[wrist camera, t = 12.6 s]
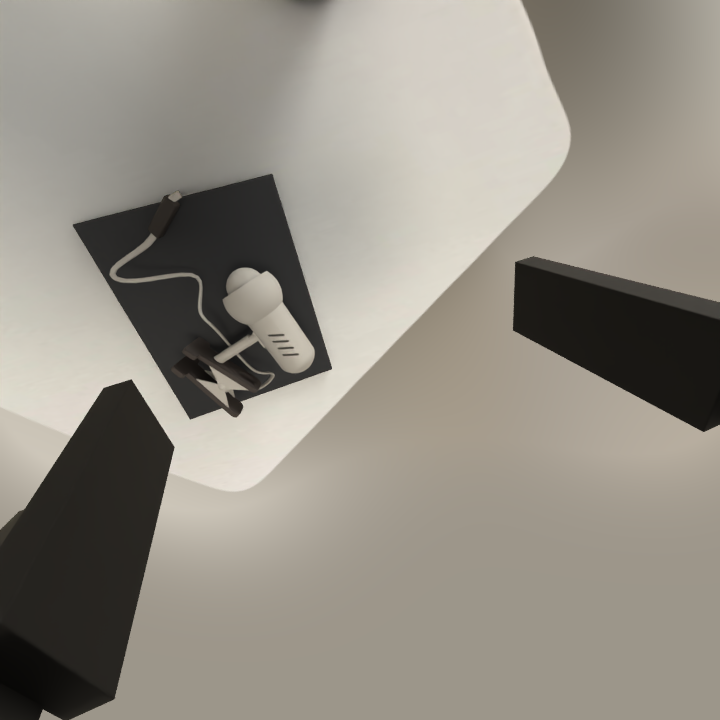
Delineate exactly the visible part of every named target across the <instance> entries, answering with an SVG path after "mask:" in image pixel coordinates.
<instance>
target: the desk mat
mask: <svg viewBox="0 0 720 720" xmlns="http://www.w3.org/2000/svg"><path fill="white" fill-rule="evenodd" d="M177 202H178V203H179V204H180V207H179V209H178V211H177V212H176V214H175V216H174V218H173V220H172V221H171V223H170V225H169V227H168V228H167V230H166V232H165V234H164V236H163V237H161V238H159V239H157V238H156V240H155V241H154V242H153V244H152V245H151V246H150V247H148V248H147V249H146V250H145V251H143V252H142V253H140V254H139V255H137V256H136V257H134V258H133V259H131V260H130V261H128V262H127V263H125V264H124V265H123V266H121V267H120V268H119V269H118V270H117V272H116V275H117V277H120V278H124V279H137V278H145V277H153V276H159V275H165V274H174V273H193V274H195V275H197V276H199V278H200V279H201V281H202V286H203V293H202V313H203V315H204V317H205V318H206V319H207V320H208V321H209V322H211V323H212V324H213V325H214V326H215V327H216V328H217V329H218V330H219V331H220V332H221V334H222V335H223V336H224V337H225V338H226V339H227V341H228V342H229V343H230V344H231V345H233V344H235V343H236V342H238V341H239V340H241V339H242V338H244V337H245V336H247V335H252V333H253V331H252V330H251V328H250V327H249V326H248V325H246V324H243V323H240V322H239V321H237V320H235V319H234V318H233V317H232V316H231V315H230V314H229V313H228V312H227V310H226V308H225V306H224V304H223V299H224V298H225V297H227V296H228V293H227V290H226V283H227V279H228V277H229V276H230V274H231V273H232V272H233V271H235V270H237V269H239V268H251V269H254V270H256V271H258V272H259V273H260V274H262V273H264V272H266V271H268V272H269V273H270V274H272V275H273V276H274V277H275V279H276V280H277V281H278V283H279V285H280V287H281V290H282V294H283V301H282V302H283V303H284V305H285V306H286V308H287V309H288V311H289V312H290V314H291V315H292V317H293V318H294V320H295V321H296V323H297V324H298V325H299V327H300V328H301V330H302V331H303V333H304V334H305V336H306V337H307V339H308V340H309V342H310V343H311V345H312V346H313V348H314V351H315V355H314V360H313V362H312V364H311V365H310V367H309V368H308V369H306V370H305V371H303V372H300V373H289V372H286V371H284V370H283V369H282V368H281V367H280V366H279V364H278V363H277V362H276V360H275V359H274V358H273V357H272V355H271V354H270V353H269V351H268V350H267V349H266V348H264V347H263V346H262V345H261V344H260V342H259V341H257V342H256V343H254V344H252V345H251V346H249V347H247V348H246V349H244V350H243V351H241V352H239V354H240V355H241V357H242V358H243V359H244V360H245V361H246V362H247V363H248V364H249V365H250V366H251V367H252V368H254V369H255V370H257V371H261V372H272V373H274V375H275V376H274V378H273V380H272V381H271V382H270V383H269V384H268V385H267V386H265V387H264V388H262V389H259V390H258V391H257V392H256V393H253V392H251V391H249V390H233V391H234V396H235V398H237V399H238V400H239V401H240V402H241V401H243V400H246V399H249V398H252V397H255V396H258V395H260V394H263V393H266V392H269V391H272V390H274V389H277V388H280V387H283V386H286V385H288V384H291V383H294V382H297V381H300V380H303V379H305V378H308V377H311V376H314V375H317V374H319V373H322V372H325V371H328V370H331V369H332V367H331V364H330V360H329V357H328V354H327V351H326V347H325V344H324V341H323V338H322V334H321V331H320V328H319V325H318V321H317V318H316V315H315V312H314V308H313V305H312V302H311V299H310V295H309V292H308V289H307V286H306V282H305V279H304V276H303V273H302V269H301V266H300V263H299V260H298V256H297V253H296V250H295V247H294V243H293V240H292V237H291V234H290V230H289V227H288V224H287V221H286V217H285V214H284V211H283V208H282V204H281V201H280V198H279V195H278V191H277V188H276V185H275V182H274V178H273V175H272V174H270V175H266V176H262V177H258V178H254V179H251V180H247V181H243V182H239V183H235V184H231V185H227V186H223V187H219V188H215V189H211V190H207V191H203V192H199V193H195V194H191V195H188V196H184V197H182V198H180V199H179V200H177ZM160 203H161V202H160ZM160 203H156V204H152V205H148V206H144V207H140V208H136V209H132V210H128V211H124V212H121V213H117V214H113V215H109V216H105V217H101V218H97V219H93V220H89V221H85V222H81V223H77V224H73V227H74V228H75V230H76V232H77V233H78V235H79V236H80V238H81V240H82V241H83V243H84V245H85V246H86V248H87V250H88V251H89V253H90V255H91V256H92V258H93V260H94V261H95V263H96V265H97V266H98V268H99V269H100V271H101V273H102V274H103V276H104V278H105V279H106V281H107V283H108V284H109V286H110V288H111V289H112V291H113V293H114V294H115V296H116V298H117V299H118V301H119V303H120V304H121V306H122V307H123V309H124V311H125V312H126V314H127V316H128V317H129V319H130V321H131V322H132V324H133V326H134V327H135V329H136V331H137V332H138V334H139V336H140V337H141V339H142V341H143V342H144V344H145V345H146V347H147V349H148V350H149V352H150V354H151V355H152V357H153V359H154V360H155V362H156V364H157V365H158V367H159V369H160V370H161V372H162V374H163V375H164V377H165V379H166V380H167V382H168V383H169V385H170V387H171V388H172V390H173V392H174V393H175V395H176V397H177V398H178V400H179V402H180V403H181V405H182V407H183V408H184V410H185V412H186V413H187V415H188V416H189V418H190V419H193V418H196V417H198V416H201V415H204V414H207V413H210V412H213V411H215V410H218V409H221V408H222V407H221V406H219V405H218V404H217V403H216V402H215V401H214V400H212V399H211V398H210V397H209V396H208V395H207V394H206V393H204V392H203V391H202V390H201V389H200V388H199V387H198V386H196V385H195V384H194V383H193V382H192V381H191V380H190V379H188V378H187V377H186V376H185V377H184V378H180V377H178V376H177V375H176V374H174V373H173V372H172V371H171V368H172V367H173V366H174V365H175V364H176V363H177V362H179V361H180V360H181V359H182V358H184V357H185V356H186V355H184V354H183V353H182V351H183V349H184V348H185V347H186V346H188V345H189V344H190V343H192V342H193V341H194V340H196V339H197V338H198V337H201V338H203V339H204V340H205V341H207V342H208V343H209V344H210V347H209V348H211V349H213V350H214V351H216V352H217V353H221V352H222V351H224V350H225V349H227V348H228V347H229V346H228V345H227V344H226V342H225V341H224V340H223V339H222V338H221V337H220V336H219V334H218V333H217V332H216V331H215V330H214V329H213V328H212V327H211V326H210V325H209V324H207V323H206V322H205V321H204V320H203V319H202V318H201V316H200V314H199V311H198V298H199V282H198V281H197V279H196V278H193V277H190V276H186V277H174V278H167V279H161V280H155V281H149V282H140V283H122V282H119V281H115V280H113V279H112V278H111V276H110V275H109V274H110V270H111V268H112V267H113V266H114V265H115V264H116V263H117V262H118V261H119V260H121V259H122V258H123V257H125V256H126V255H128V254H129V253H130V252H132V251H133V250H135V249H136V248H137V247H139V246H140V245H141V244H142V243H144V241H145V240H146V239H147V238H148V237H149V235H150V234H151V233H150V232H149V231H148V227H149V225H150V223H151V221H152V219H153V217H154V215H155V213H156V211H157V209H158V207H159V205H160ZM197 359H198V358H197ZM229 360H230V361H231V362H233V363H234V364H236V365H238V366H239V367H241V368H242V369H244V370H245V371H247V372H249V373H250V374H252V375H253V376H255V377H256V378H258V379H259V380H260V381H261V385H262V384H264V383H265V382H266V381H267V380H268V379H269V378H270V376H271V374H258V373H256V372H254V371H252V370H251V369H250V368H249V367H247V366H246V365H245V364H244V363H243V361H242V360H241V359H240V358H239V357H238V356H237V355H235V356H233V357H232V358H230V359H229ZM199 361H200V362H199V363H198V364H199V365H200V366H201V367H202V368H203V369H204V370H207V371H211V372H212V370H211V368H210V366H209V365H207V364H206V363H204V362H203V361H201V360H199Z"/></svg>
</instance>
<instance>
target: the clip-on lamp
mask: <svg viewBox="0 0 720 720" xmlns="http://www.w3.org/2000/svg"><path fill="white" fill-rule="evenodd" d="M180 198H182V195H181V194H180V192H179V191H176V192H175V193H173V194H172V195H166V196H164V198H163V200H162V201H161V203H160V205H159V207H158V209H157V211H156V213H155V215H154V217H153V219H152V221H151V223H150V225H149V227H148V231H149V232H150V233H151V234H150V235H149V237H148V238H147V239H146V240H145V241H144V243H142V244H141V245H140V246H139V247H137V248H136V249H135V250H133V251H132V252H130V253H129V254H128V255H126V256H125V257H123V258H122V259H121V260H119V261H118V262H117V263H116V264H115V265H114V266H113V267H112V268H111V270H110V274H109V275H110V276H111V278H112V279H113V280H115V281H119V282H122V283H140V282H149V281H155V280H161V279H167V278H174V277H186V276H190V277H193V278H196V279H197V281H198V282H199V298H198V311H199V314H200V316H201V318H202V319H203V320H204V321H205V322H206V323H207V324H209V325H210V326H211V327H212V328H213V329H214V330H215V331H216V332H217V333H218V334H219V336H220V337H221V338H222V339H223V340H224V341H225V342H226V344H227V345H228V346H229V347H228V348H227V349H225V350H224V351H222V352H221V353H217V352H216V351H214V350H213V349H211V348H209V347H210V344H209V343H208V342H207V341H205V340H204V339H203V338H201V337H198V338H197V339H196V340H194V341H193V342H192V343H190V344H189V345H188V346H186V347H185V348H184V349H183V351H182V353H183V354H184V355H186V356H185V357H184V358H182V359H181V360H180V361H179V362H177V363H176V364H175V365H174V366H173V367H172V368H171V371H172V372H173V373H174V374H176V375H177V376H178V377H180V378H184V377H185V376H186V377H187V378H188V379H190V380H191V381H192V382H193V383H194V384H195V385H196V386H198V387H199V388H200V389H201V390H202V391H203V392H204V393H206V394H207V395H208V396H209V397H210V398H211V399H212V400H214V401H215V402H216V403H217V404H218V405H219V406H221V407H222V408H223V409H224V410H225V411H226V412H227V413H229V414H230V415H231V416H233V417H237V416H238V415H239V414H240V413H241V411H242V409H243V405H242V403H241V402H240V401H239V400H238V399H237V398H235V396H234V391H233V390H249V391H251V392H253V393H256V392H257V391H258V390H259V389H262V388H264V387H265V386H267V385H268V384H269V383H270V382H271V381H272V380H273V378H274V376H275V375H274V373H272V372H261V371H257V370H255V369H254V368H252V367H251V366H250V365H249V364H248V363H247V362H246V361H245V360H244V359H243V358H242V357H241V355H240V354H239V352H241V351H243V350H244V349H246V348H247V347H249V346H251V345H252V344H254V343H256V342H257V341H259V342H260V344H261V345H262V346H263V347H264V348H266V349H267V350H268V351H269V353H270V354H271V355H272V357H273V358H274V359H275V360H276V362H277V363H278V364H279V366H280V367H281V368H282V369H283V370H284V371H286V372H289V373H300V372H303V371H305V370H306V369H308V368H309V367H310V365H311V364H312V362H313V360H314V355H315V351H314V348H313V346H312V345H311V343H310V342H309V340H308V339H307V337H306V336H305V334H304V333H303V331H302V330H301V328H300V327H299V325H298V324H297V323H296V321H295V320H294V318H293V317H292V315H291V314H290V312H289V311H288V309H287V308H286V306H285V305H284V303H283V302H282V301H283V294H282V290H281V287H280V285H279V283H278V281H277V280H276V279H275V277H274V276H273V275H272V274H270V273H269V272H268V271H266V272H264V273H262V274H260V273H259V272H258V271H256V270H254V269H251V268H239V269H237V270H235V271H233V272H232V273H231V274H230V276H229V277H228V279H227V283H226V290H227V293H228V296H227V297H225V298H224V299H223V304H224V306H225V308H226V310H227V312H228V313H229V314H230V315H231V316H232V317H233V318H234V319H235V320H237V321H239V322H240V323H243V324H246V325H248V326H249V327H250V328H251V330H252V331H253V333H252V335H247V336H245V337H244V338H242V339H241V340H239V341H238V342H236V343H235V344H233V345H231V344H230V343H229V342H228V341H227V339H226V338H225V337H224V336H223V335H222V334H221V332H220V331H219V330H218V329H217V328H216V327H215V326H214V325H213V324H212V323H211V322H209V321H208V320H207V319H206V318H205V317H204V315H203V313H202V293H203V286H202V281H201V279H200V278H199V276H197V275H195V274H193V273H174V274H165V275H159V276H153V277H145V278H137V279H124V278H120V277H117V275H116V272H117V270H118V269H119V268H120V267H121V266H123V265H124V264H125V263H127V262H128V261H130V260H131V259H133V258H134V257H136V256H137V255H139V254H140V253H142V252H143V251H145V250H146V249H147V248H148V247H150V246H151V245H152V244H153V242H154V241H155V240H156V238H157V239H159V238H161V237H163V236H164V234H165V232H166V230H167V228H168V227H169V225H170V223H171V221H172V220H173V218H174V216H175V214H176V212H177V211H178V209H179V207H180V204H179V203H178V202H177V200H179V199H180ZM235 355H237V356H238V357H239V358H240V359H241V360H242V361H243V363H244V364H245V365H246V366H247V367H249V368H250V369H251V370H252V371H254V372H256V373H258V374H271V376H270V378H269V379H268V380H267V381H266V382H265V383H264V384H262V385H261V381H260V380H259V379H258V378H256V377H255V376H253V375H252V374H250V373H249V372H247V371H245V370H244V369H242V368H241V367H239V366H238V365H236V364H234V363H233V362H231V361H230V360H229V359H230V358H232V357H233V356H235ZM197 358H198V359H197ZM199 360H201V361H203V362H204V363H206V364H207V365H209V366H210V368H211V370H212V372H211V371H207V370H204V369H203V368H202V367H201V366H200V365H199V364H198V363H199V362H200V361H199Z"/></svg>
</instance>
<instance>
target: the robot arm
mask: <svg viewBox="0 0 720 720" xmlns="http://www.w3.org/2000/svg"><path fill="white" fill-rule="evenodd" d="M513 331H515V332H517V333H519V334H521V335H523V336H525V337H526V338H529V339H530V340H532V341H534V342H536V343H538V344H540V345H542V346H543V347H545V348H547V349H549V350H551V351H553V352H555V353H557V354H558V355H560V356H562V357H564V358H566V359H568V360H570V361H571V362H573V363H575V364H577V365H579V366H581V367H583V368H585V369H586V370H589V371H590V372H592V373H594V374H596V375H598V376H600V377H602V378H603V379H605V380H607V381H609V382H611V383H613V384H615V385H616V386H618V387H620V388H622V389H624V390H626V391H628V392H630V393H632V394H633V395H635V396H637V397H639V398H641V399H643V400H645V401H646V402H648V403H650V404H652V405H654V406H656V407H658V408H660V409H662V410H663V411H665V412H667V413H669V414H671V415H673V416H675V417H676V418H679V419H680V420H682V421H684V422H686V423H688V424H690V425H691V426H693V427H695V428H697V429H699V430H701V431H703V432H705V431H707V430H709V429H711V428H713V427H716V426H718V425H720V302H716V301H712V300H708V299H704V298H700V297H696V296H692V295H687V294H684V293H680V292H675V291H671V290H667V289H663V288H659V287H655V286H651V285H647V284H643V283H639V282H635V281H631V280H627V279H623V278H619V277H615V276H610V275H607V274H603V273H598V272H595V271H590V270H586V269H582V268H578V267H574V266H570V265H566V264H562V263H558V262H554V261H550V260H546V259H541V258H538V257H534V256H533V257H530V258H527V259H523V260H520V261H517V262H515V288H514V317H513ZM173 451H174V446H173V444H172V443H171V441H170V439H169V438H168V436H167V435H166V433H165V432H164V430H163V428H162V427H161V425H160V424H159V422H158V420H157V419H156V417H155V416H154V414H153V413H152V411H151V409H150V408H149V406H148V405H147V403H146V402H145V400H144V398H143V397H142V395H141V394H140V392H139V390H138V389H137V387H136V386H135V384H134V383H133V381H132V379H131V380H128V381H125V382H122V383H118V384H115V385H112V386H109V387H105V388H103V390H102V392H101V393H100V395H99V396H98V398H97V399H96V401H95V402H94V404H93V405H92V407H91V408H90V410H89V411H88V413H87V414H86V416H85V418H84V419H83V421H82V422H81V424H80V425H79V427H78V428H77V430H76V431H75V433H74V434H73V436H72V437H71V439H70V441H69V442H68V444H67V445H66V447H65V448H64V450H63V451H62V453H61V454H60V456H59V457H58V459H57V460H56V462H55V464H54V465H53V467H52V468H51V470H50V471H49V473H48V474H47V476H46V477H45V479H44V481H43V482H42V483H41V485H40V487H39V488H38V490H37V491H36V493H35V494H34V496H33V497H32V499H31V500H30V502H29V503H28V505H27V506H26V508H25V509H24V510H22V511H19V512H18V513H17V514H16V515H15V516H14V517H13V518H12V519H11V520H10V521H9V522H8V523H7V524H6V525H5V526H4V527H3V528H2V529H1V530H0V720H39V718H40V715H41V712H42V710H43V709H44V710H45V711H47V712H49V713H51V714H53V715H55V716H57V717H59V718H61V719H62V720H69V719H72V718H74V717H76V716H79V715H81V714H83V713H85V712H87V711H90V710H92V709H94V708H96V707H98V706H101V705H103V704H105V703H107V702H109V701H112V700H113V699H114V698H115V694H116V690H117V686H118V681H119V677H120V673H121V668H122V665H123V661H124V657H125V652H126V648H127V644H128V640H129V635H130V631H131V627H132V623H133V618H134V614H135V610H136V606H137V602H138V598H139V594H140V589H141V585H142V581H143V577H144V572H145V568H146V564H147V560H148V556H149V552H150V547H151V543H152V539H153V535H154V531H155V527H156V522H157V518H158V514H159V509H160V505H161V501H162V497H163V493H164V488H165V485H166V481H167V476H168V472H169V468H170V464H171V460H172V455H173Z"/></svg>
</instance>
